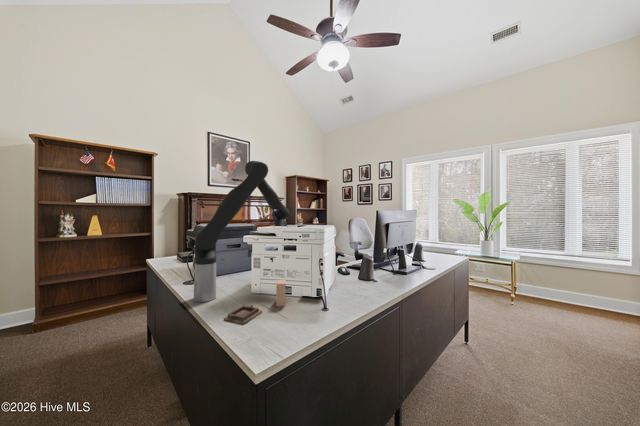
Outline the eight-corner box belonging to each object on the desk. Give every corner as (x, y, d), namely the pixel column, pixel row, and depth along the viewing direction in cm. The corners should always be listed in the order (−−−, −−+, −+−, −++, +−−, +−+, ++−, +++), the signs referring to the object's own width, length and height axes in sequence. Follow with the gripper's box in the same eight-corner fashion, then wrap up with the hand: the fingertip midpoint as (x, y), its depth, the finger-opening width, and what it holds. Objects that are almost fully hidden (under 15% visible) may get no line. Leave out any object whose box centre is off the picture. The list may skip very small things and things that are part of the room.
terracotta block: (276, 306, 106) (276, 284, 106) (276, 301, 112) (276, 280, 112) (285, 306, 107) (285, 283, 107) (284, 300, 113) (285, 279, 113)
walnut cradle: (223, 320, 92) (223, 313, 92) (243, 308, 103) (243, 302, 103) (244, 324, 89) (244, 317, 89) (262, 312, 100) (262, 305, 100)
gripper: (267, 231, 128) (266, 257, 117) (294, 231, 131) (295, 256, 120) (267, 240, 134) (266, 265, 122) (293, 240, 136) (294, 264, 125)
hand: (280, 261), depth 121 cm, fingers open, 8 cm apart
